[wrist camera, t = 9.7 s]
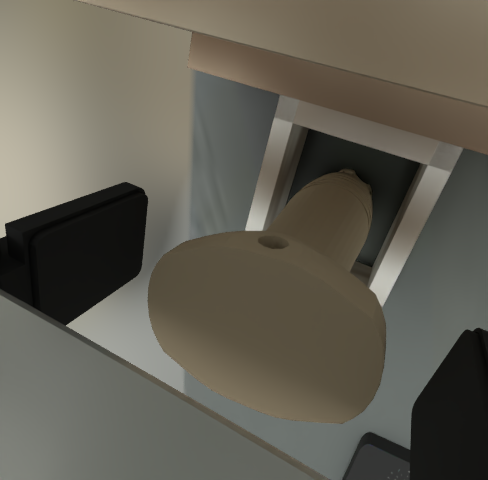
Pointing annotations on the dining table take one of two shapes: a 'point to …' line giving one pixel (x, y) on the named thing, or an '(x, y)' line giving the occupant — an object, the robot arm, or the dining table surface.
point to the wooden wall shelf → (349, 88)
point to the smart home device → (379, 460)
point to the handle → (279, 308)
